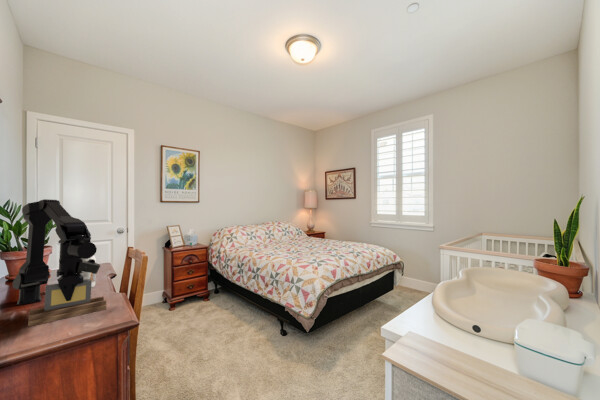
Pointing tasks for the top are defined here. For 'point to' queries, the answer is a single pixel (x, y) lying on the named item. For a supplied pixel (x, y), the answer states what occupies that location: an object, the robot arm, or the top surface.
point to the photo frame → (57, 299)
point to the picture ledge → (65, 311)
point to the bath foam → (89, 275)
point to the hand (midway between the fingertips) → (68, 299)
